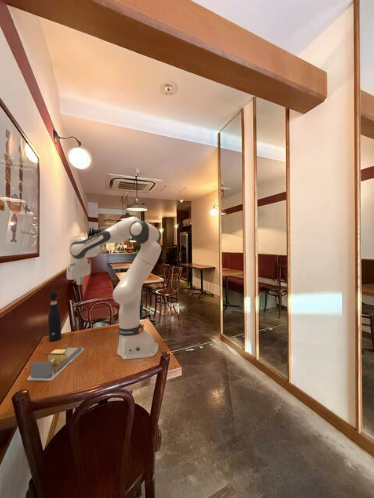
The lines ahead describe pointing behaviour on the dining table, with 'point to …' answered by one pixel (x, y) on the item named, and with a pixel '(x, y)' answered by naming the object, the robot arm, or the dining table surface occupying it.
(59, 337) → the wine bottle
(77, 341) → the dining table surface
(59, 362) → the block
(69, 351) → the track
